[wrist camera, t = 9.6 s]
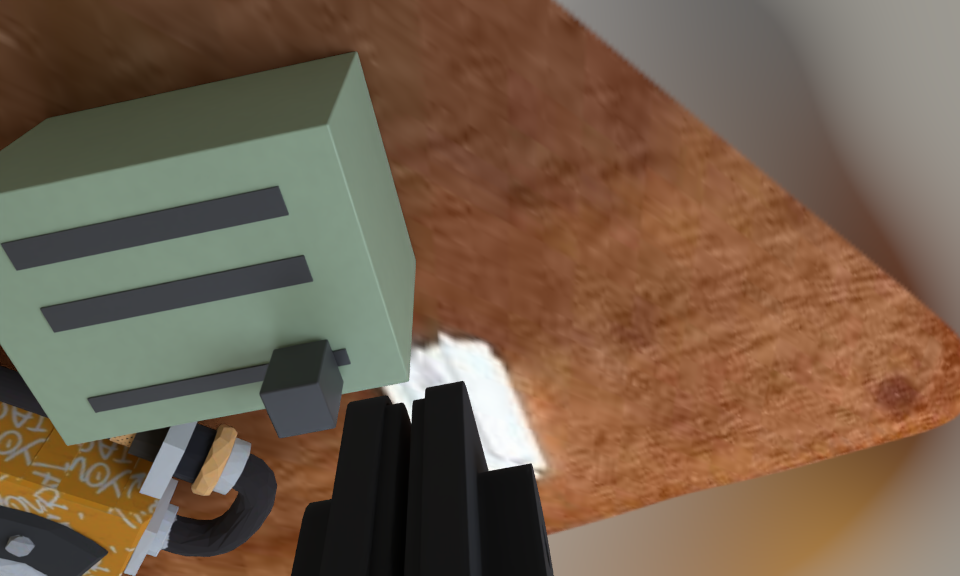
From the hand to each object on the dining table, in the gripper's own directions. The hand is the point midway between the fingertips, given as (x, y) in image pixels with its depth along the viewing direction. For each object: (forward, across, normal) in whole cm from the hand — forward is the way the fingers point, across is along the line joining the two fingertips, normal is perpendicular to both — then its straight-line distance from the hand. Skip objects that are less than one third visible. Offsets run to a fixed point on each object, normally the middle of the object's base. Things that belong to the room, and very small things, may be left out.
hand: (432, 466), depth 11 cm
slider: (+18, +8, +10) cm, 22 cm away
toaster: (+29, +12, +6) cm, 32 cm away
